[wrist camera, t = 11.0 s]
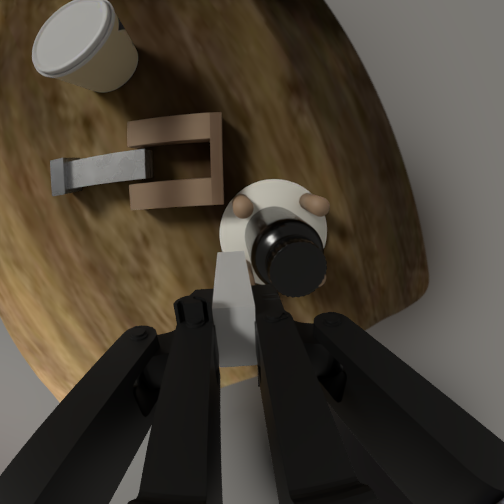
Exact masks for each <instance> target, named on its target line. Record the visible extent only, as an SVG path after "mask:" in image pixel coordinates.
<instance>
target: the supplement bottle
mask: <svg viewBox="0 0 504 504" xmlns="http://www.w3.org/2000/svg"><path fill="white" fill-rule="evenodd" d="M245 242H246V247H247V250H248V254H249V257H250V261H251V264H252V267H253V269H254V272H255V273H256V275H257V276H258V278H259V279H260V280H261V281H262V282H263V283H265V284H270V285H272V286H273V287H275V288H276V289H277V291H278V292H280V293H281V294H282V295H286V296H287V297H289V296H291V297H300V296H305V295H307V294H310V293H311V292H313V291H315V289H316V288H318V287H319V285H320V284H321V283H322V280H323V279H324V278H325V274H326V269H327V266H326V263H327V262H326V260H325V256H324V248H323V243H322V240H321V238H320V236H319V234H318V233H317V231H316V230H315V229H314V228H313V227H312V226H311V225H309V224H308V223H307V222H305V221H304V220H302V219H301V218H300V217H298V216H297V215H295V214H294V213H292V212H291V211H289V210H287V209H285V208H282V207H276V206H272V207H266V208H263V209H261V210H259V211H258V212H256V213H255V214H254V215H253V216H252V217H251V218H250V220H249V222H248V223H247V226H246V229H245Z"/></svg>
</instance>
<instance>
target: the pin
mask: <svg viewBox="0 0 504 504" xmlns="http://www.w3.org/2000/svg"><path fill="white" fill-rule="evenodd" d="M50 167H51V186H52V196H57V195H62V194H68V193H72V192H77V191H82V187H84V186H90V185H97V184H104V183H111V182H119V181H127V180H136V179H145V178H153V157H152V150H148V149H139V150H131V151H124V152H118V153H112V154H106V155H100V156H94V157H89V158H84V159H80V158H60V159H56V160H52V161H50Z"/></svg>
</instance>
